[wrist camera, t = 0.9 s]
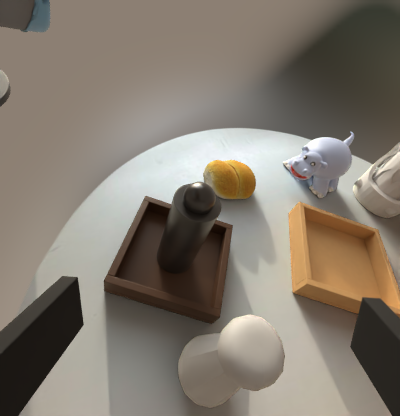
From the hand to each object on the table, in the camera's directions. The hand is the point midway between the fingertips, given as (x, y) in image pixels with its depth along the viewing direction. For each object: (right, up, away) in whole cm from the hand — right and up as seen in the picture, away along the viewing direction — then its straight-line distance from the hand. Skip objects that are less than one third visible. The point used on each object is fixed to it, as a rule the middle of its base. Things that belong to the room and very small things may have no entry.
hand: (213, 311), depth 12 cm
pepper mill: (-4, -1, +20) cm, 20 cm away
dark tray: (-4, -2, +20) cm, 21 cm away
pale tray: (+20, -4, +28) cm, 34 cm away
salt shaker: (-1, -12, +14) cm, 18 cm away
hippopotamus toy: (+21, +11, +40) cm, 47 cm away
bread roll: (+4, +9, +32) cm, 34 cm away
